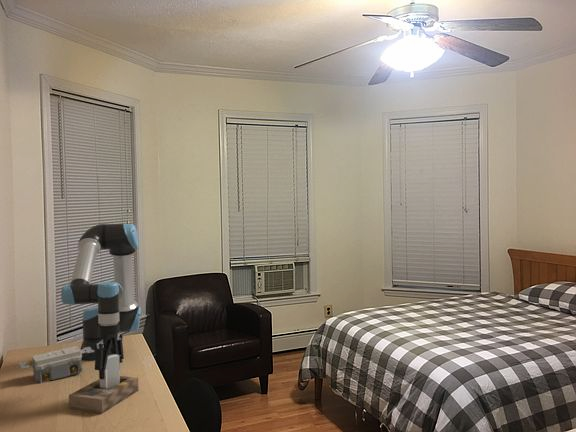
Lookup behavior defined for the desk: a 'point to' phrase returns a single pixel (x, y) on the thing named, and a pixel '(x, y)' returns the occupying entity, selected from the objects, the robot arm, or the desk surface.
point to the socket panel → (102, 395)
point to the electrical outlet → (56, 363)
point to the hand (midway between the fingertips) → (110, 383)
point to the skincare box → (112, 371)
